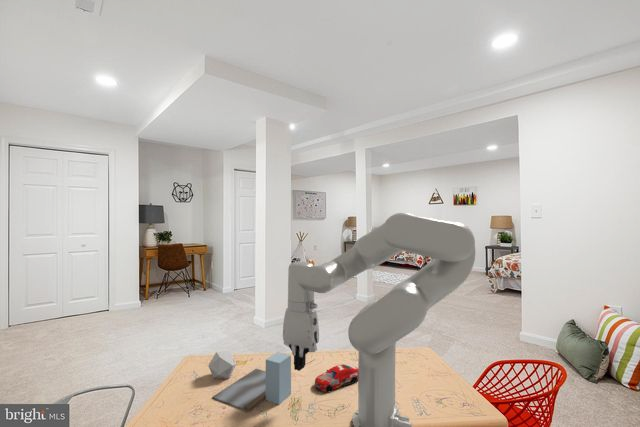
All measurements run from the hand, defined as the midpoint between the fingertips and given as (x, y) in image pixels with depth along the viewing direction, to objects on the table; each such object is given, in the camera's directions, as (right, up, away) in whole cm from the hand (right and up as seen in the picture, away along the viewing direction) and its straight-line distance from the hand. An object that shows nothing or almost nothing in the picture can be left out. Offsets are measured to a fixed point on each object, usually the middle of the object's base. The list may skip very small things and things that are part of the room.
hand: (299, 368), depth 93 cm
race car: (+12, -11, +12) cm, 20 cm away
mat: (-15, -10, +8) cm, 20 cm away
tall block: (-7, -10, +4) cm, 13 cm away
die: (-27, -11, +16) cm, 33 cm away
